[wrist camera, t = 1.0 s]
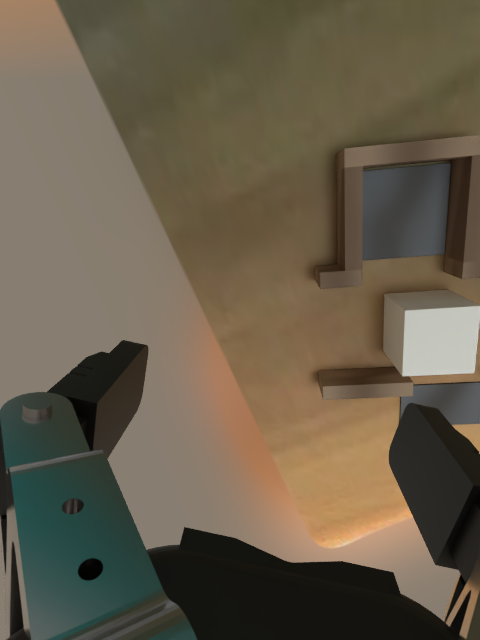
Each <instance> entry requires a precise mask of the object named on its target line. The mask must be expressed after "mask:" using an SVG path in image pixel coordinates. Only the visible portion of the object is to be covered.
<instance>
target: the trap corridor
mask: <svg viewBox="0 0 480 640" xmlns="http://www.w3.org/2000/svg"><path fill="white" fill-rule="evenodd" d="M447 160H451V163H445V164H434V165H424V166H413V167H403V168H392V169H381V170H371V171H363V168H373V167H384V166H394V165H405V164H415V163H426V162H436V161H447ZM450 167H451V174H450ZM449 182H450V188H449ZM448 196H449V202H448ZM447 211H448V217H447ZM446 225H447V231H446ZM337 232H338V264H335V265H322V266H315V280H316V282H317V284H318V286H319V287H320V289H325V288H340V287H354V286H362V260H374V259H387V258H400V257H414V256H427V255H441V254H445V259H444V272H446V273H448V274H451V275H453V276H456V277H458V278H461V279H471V278H480V135H473V136H463V137H453V138H443V139H433V140H423V141H413V142H403V143H393V144H384V145H374V146H364V147H354V148H344V149H343V150H341V151H340V152H338V153H337ZM445 239H446V245H445ZM318 383H319V387H320V390H321V394H322V397H323V400H334V399H357V398H380V397H401V402H400V420H401V417H402V415H403V412H404V410H405V408H406V406H407V405H408V404H409V403H416V404H421V405H425V406H430V407H435V408H437V409H439V410H440V412H441V413H442V414H443V415H444V416H445V418H446V419H447V420H448V421H449V423H450V424H451V425H455V424H480V382H465V383H443V384H421V385H413V381H412V380H411V379H410V377H409V376H402V375H401V374H400V373H399V371H398V370H397V369H396V367H381V368H361V369H341V370H321V371H318Z"/></svg>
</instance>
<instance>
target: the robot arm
mask: <svg viewBox="0 0 480 640" xmlns="http://www.w3.org/2000/svg"><path fill="white" fill-rule="evenodd" d="M147 358H148V346H147V345H144V344H139V343H134V342H130V341H125V340H123V341H121V342H120V343H119V344H118V345H117V346H116V347H115V348H114V349H113V350H112V351H111V352H110V353H105V352H99V353H97V354H94V355H91V356H88V357H86V358H85V359H84V360H83V361H82V362H81V363H80V364H78V366H77V367H75V368H74V369H73V370H72V371H71V372H70V374H67V375H66V376H65V377H63V378H62V379H61V380H60V381H59V382H58V383H57V384H55V385H54V386H53V387H52V388H51V389H50V390H49V391H48V392H36V393H28V394H23V395H20V396H17V397H15V398H13V399H11V400H9V401H7V402H6V403H5V404H4V405H3V406H2V408H1V410H0V539H1V551H2V563H3V576H4V589H5V613H6V637H7V638H6V640H480V454H479V451H478V450H477V449H476V448H475V447H474V445H473V444H472V443H471V442H470V441H469V440H468V439H467V438H466V437H464V436H463V435H462V434H461V433H459V432H458V431H457V430H455V429H454V427H453V426H452V425H451V424H450V423H449V421H448V420H447V419H446V418H445V416H444V415H443V414H442V413H441V412H440V410H439V409H437V408H435V407H430V406H425V405H421V404H416V403H409V404H408V405H407V406H406V408H405V410H404V412H403V415H402V417H401V420H400V422H399V425H398V428H397V430H396V433H395V435H394V438H393V441H392V443H391V446H390V450H389V464H390V467H391V470H392V472H393V474H394V476H395V478H396V480H397V483H398V485H399V487H400V489H401V491H402V493H403V496H404V498H405V500H406V502H407V504H408V506H409V509H410V511H411V513H412V515H413V517H414V520H415V522H416V524H417V526H418V528H419V530H420V533H421V534H422V537H423V539H424V541H425V543H426V546H427V548H428V550H429V552H430V554H431V556H432V559H433V561H434V563H435V565H439V566H443V567H448V568H453V569H457V570H459V571H460V575H459V577H458V579H457V581H456V583H455V585H454V588H453V590H452V593H451V596H450V599H449V602H448V604H447V608H446V610H445V613H444V616H443V619H442V620H441V619H440V618H439V617H437V616H436V615H435V614H433V613H432V612H431V611H429V610H427V609H426V608H425V607H423V606H422V605H420V604H419V603H417V602H415V601H413V600H412V599H410V598H408V597H406V596H404V595H402V594H400V591H399V588H398V585H397V582H396V579H395V576H394V573H393V572H389V571H384V570H379V569H375V568H370V567H366V566H361V565H357V564H352V563H347V562H343V561H340V562H339V561H338V562H307V563H306V562H304V563H291V562H287V561H284V560H282V559H280V558H277V557H275V556H273V555H271V554H269V553H267V552H264V551H262V550H260V549H258V548H256V547H254V546H251V545H249V544H247V543H244V542H243V541H240V540H238V539H236V538H232V537H227V536H223V535H218V534H213V533H208V532H204V531H199V530H195V529H190V528H185V527H184V531H183V535H182V539H181V543H180V545H170V546H162V547H156V548H152V549H148V550H146V548H145V546H144V544H143V541H142V539H141V537H140V534H139V532H138V530H137V527H136V525H135V523H134V520H133V518H132V516H131V513H130V512H129V509H128V506H127V504H126V502H125V499H124V497H123V495H122V492H121V490H120V488H119V485H118V483H117V481H116V479H115V476H114V474H113V472H112V469H111V467H110V465H109V462H108V460H107V459H108V457H109V455H110V454H111V452H112V450H113V449H114V447H115V446H116V444H117V442H118V441H119V439H120V438H121V436H122V434H123V433H124V431H125V429H126V428H127V426H128V425H129V423H130V421H131V420H132V418H133V417H134V415H135V413H136V412H137V410H138V407H139V405H140V402H141V398H142V393H143V386H144V380H145V372H146V365H147Z"/></svg>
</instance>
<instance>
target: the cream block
mask: <svg viewBox="0 0 480 640" xmlns="http://www.w3.org/2000/svg"><path fill="white" fill-rule="evenodd" d="M479 322H480V305H478V304H476V303H474V302H472V301H470V300H468V299H466V298H464V297H462V296H460V295H458V294H456V293H454V292H452V291H450V290H435V291H420V292H405V293H390V294H384V332H383V352H384V353H385V354H386V356H387V357H388V358H389V360H390V361H391V362H392V363H393V365H394V366H395V367H396V369H397V370H398V371H399V373H400V374H401V375H402V376H421V375H443V374H464V373H474V371H475V361H476V351H477V342H478V332H479Z"/></svg>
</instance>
